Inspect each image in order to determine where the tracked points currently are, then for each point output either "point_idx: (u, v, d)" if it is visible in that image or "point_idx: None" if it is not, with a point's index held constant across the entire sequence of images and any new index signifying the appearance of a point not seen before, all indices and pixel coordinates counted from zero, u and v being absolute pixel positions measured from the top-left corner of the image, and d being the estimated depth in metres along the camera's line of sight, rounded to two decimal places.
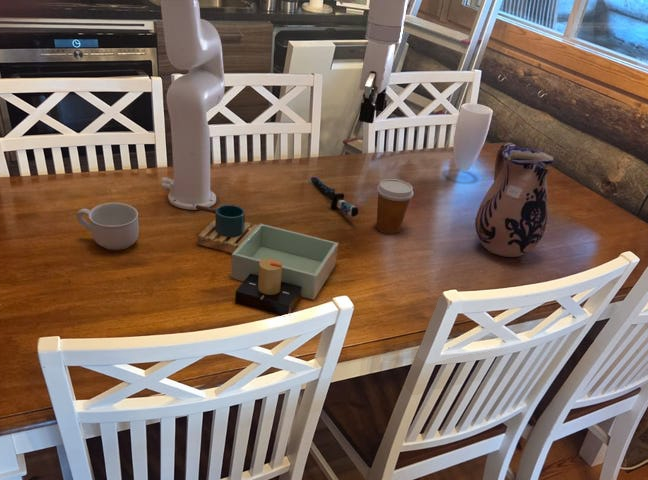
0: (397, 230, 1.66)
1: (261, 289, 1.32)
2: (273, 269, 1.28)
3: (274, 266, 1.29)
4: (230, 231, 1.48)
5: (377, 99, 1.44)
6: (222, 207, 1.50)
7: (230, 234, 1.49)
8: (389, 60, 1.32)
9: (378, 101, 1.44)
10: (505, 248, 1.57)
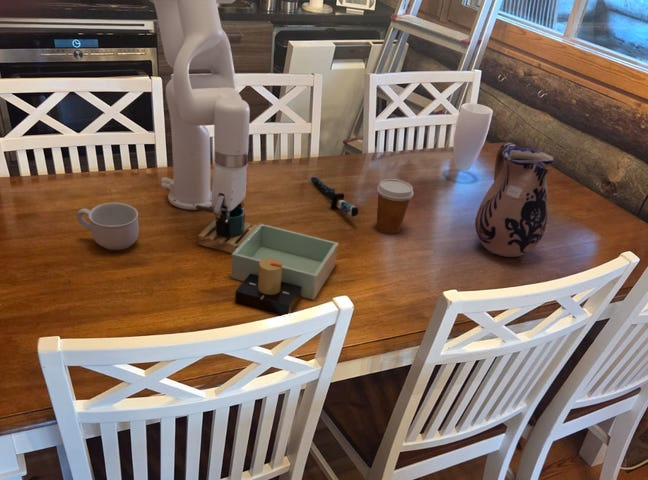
0: (397, 230, 1.66)
1: (261, 289, 1.32)
2: (273, 269, 1.28)
3: (274, 266, 1.29)
4: (230, 231, 1.48)
5: None
6: (222, 207, 1.50)
7: (230, 234, 1.49)
8: (237, 182, 1.42)
9: None
10: (505, 248, 1.57)
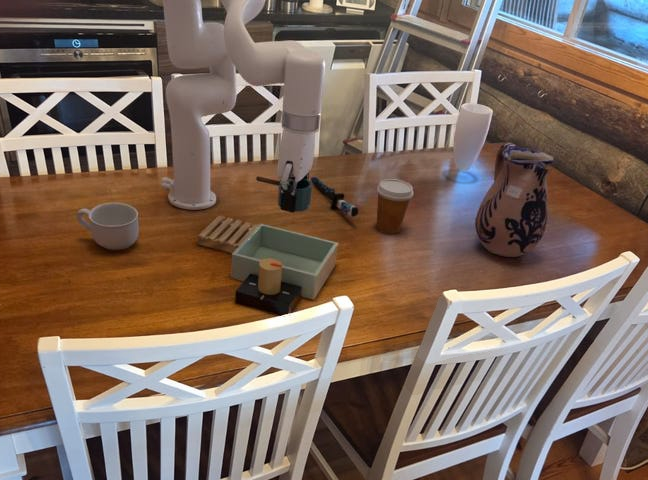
0: (397, 230, 1.66)
1: (261, 289, 1.32)
2: (273, 269, 1.28)
3: (274, 266, 1.29)
4: (296, 205, 1.32)
5: None
6: None
7: (296, 209, 1.33)
8: (307, 148, 1.26)
9: None
10: (505, 248, 1.57)
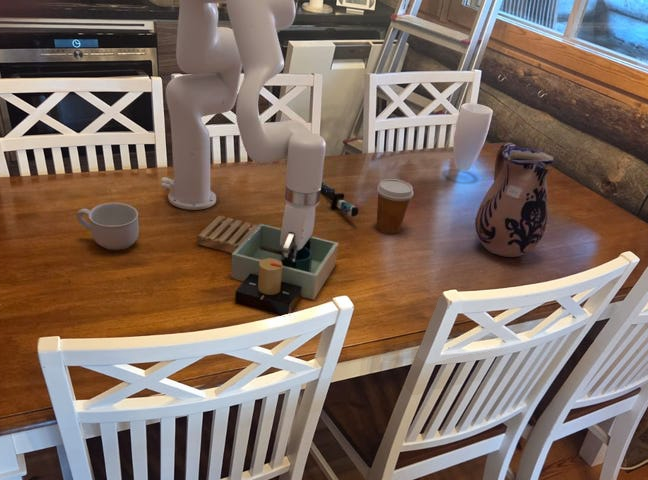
0: (397, 230, 1.66)
1: (261, 289, 1.32)
2: (273, 269, 1.28)
3: (274, 266, 1.29)
4: None
5: (302, 246, 1.45)
6: None
7: None
8: (308, 220, 1.34)
9: None
10: (505, 248, 1.57)
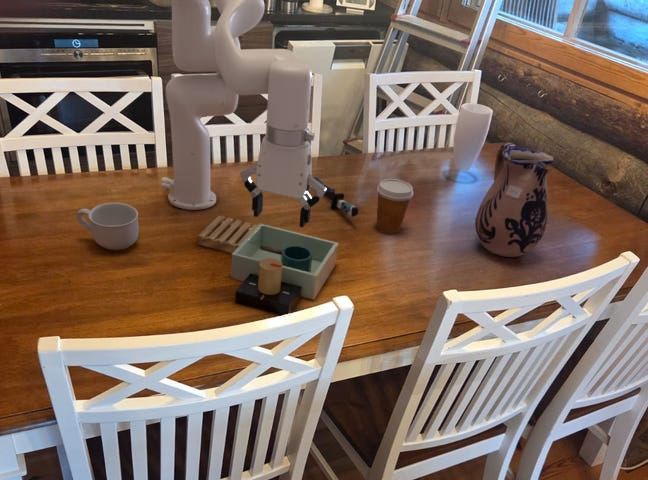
0: (397, 230, 1.66)
1: (261, 289, 1.32)
2: (273, 269, 1.28)
3: (274, 266, 1.29)
4: None
5: None
6: (288, 248, 1.43)
7: None
8: (271, 161, 1.17)
9: None
10: (505, 248, 1.57)
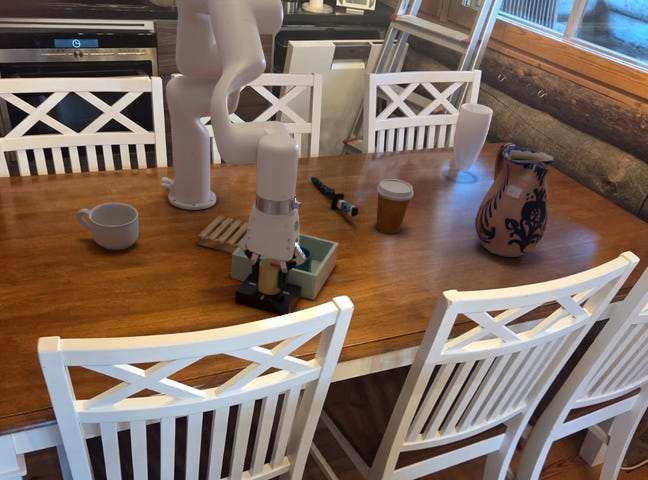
0: (397, 230, 1.66)
1: (261, 289, 1.32)
2: (273, 269, 1.28)
3: (274, 266, 1.29)
4: None
5: None
6: None
7: None
8: (260, 226, 1.23)
9: None
10: (505, 248, 1.57)
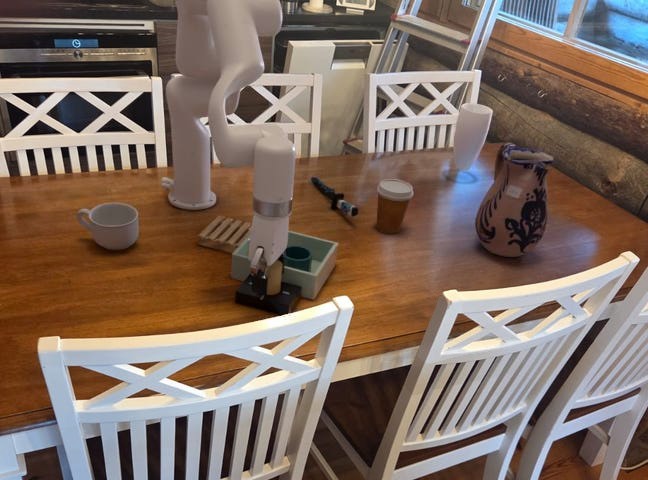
0: (397, 230, 1.66)
1: (277, 290, 1.32)
2: (281, 263, 1.30)
3: (275, 262, 1.30)
4: None
5: None
6: (288, 248, 1.43)
7: None
8: (279, 233, 1.22)
9: None
10: (505, 248, 1.57)
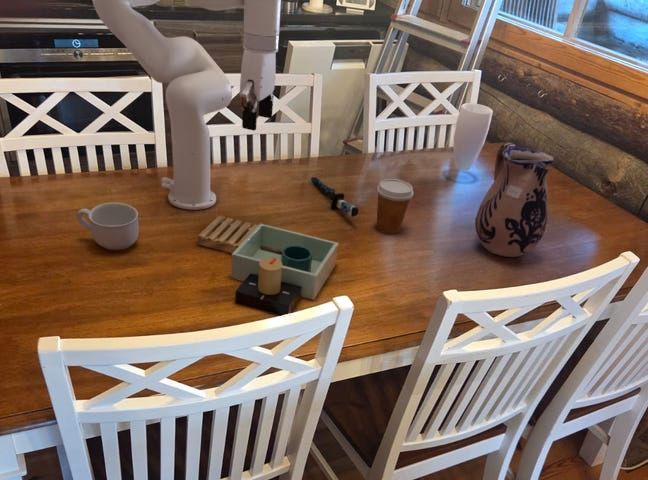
0: (397, 230, 1.66)
1: (277, 290, 1.32)
2: (281, 263, 1.30)
3: (275, 262, 1.30)
4: None
5: (264, 106, 1.47)
6: (288, 248, 1.43)
7: None
8: (267, 69, 1.35)
9: (266, 108, 1.47)
10: (505, 248, 1.57)
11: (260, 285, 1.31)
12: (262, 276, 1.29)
